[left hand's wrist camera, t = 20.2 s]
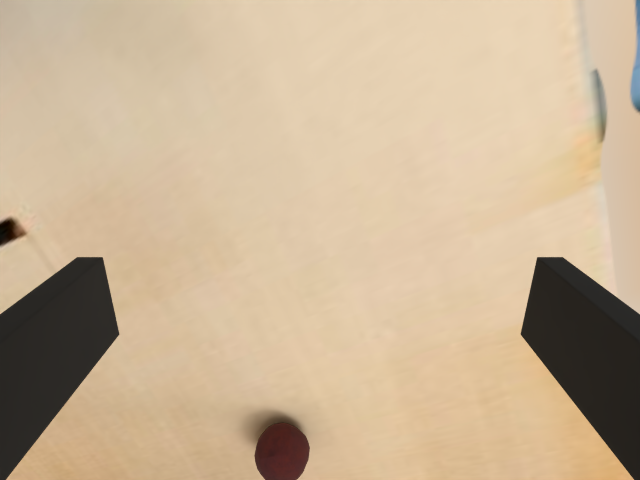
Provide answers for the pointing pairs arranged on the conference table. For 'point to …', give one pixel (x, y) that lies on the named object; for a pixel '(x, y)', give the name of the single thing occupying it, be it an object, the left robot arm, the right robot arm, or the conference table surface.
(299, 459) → the dark red ball
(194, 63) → the conference table surface
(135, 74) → the conference table surface
